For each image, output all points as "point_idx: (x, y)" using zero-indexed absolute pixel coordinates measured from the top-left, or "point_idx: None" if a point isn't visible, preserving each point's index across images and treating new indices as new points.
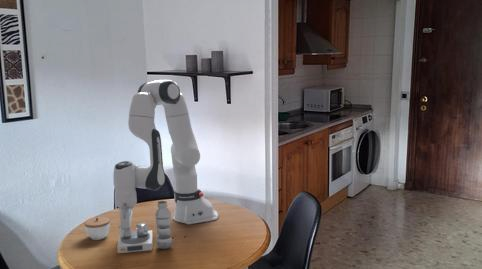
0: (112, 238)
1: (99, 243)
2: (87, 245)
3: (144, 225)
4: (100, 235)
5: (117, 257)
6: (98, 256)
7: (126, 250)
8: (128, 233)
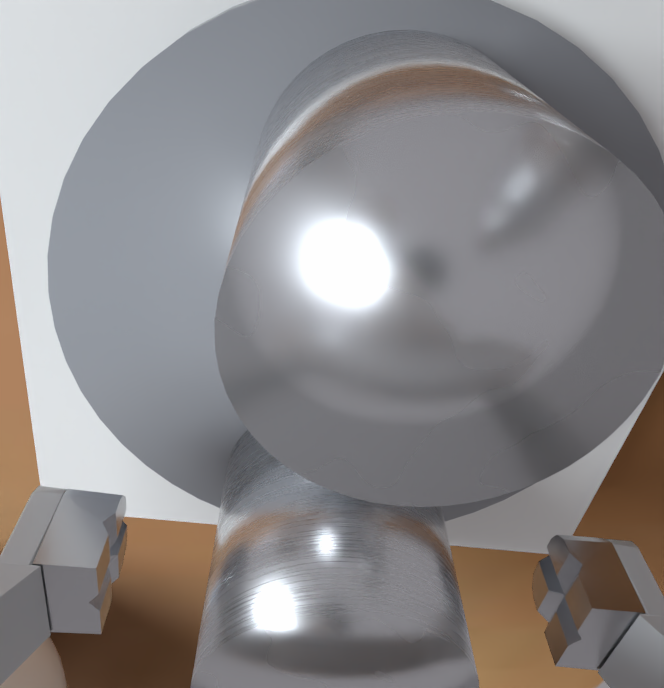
0: (19, 506)
1: (152, 608)
2: (175, 678)
3: (600, 272)
4: (54, 666)
5: (646, 481)
6: (496, 614)
7: None
8: (653, 592)
